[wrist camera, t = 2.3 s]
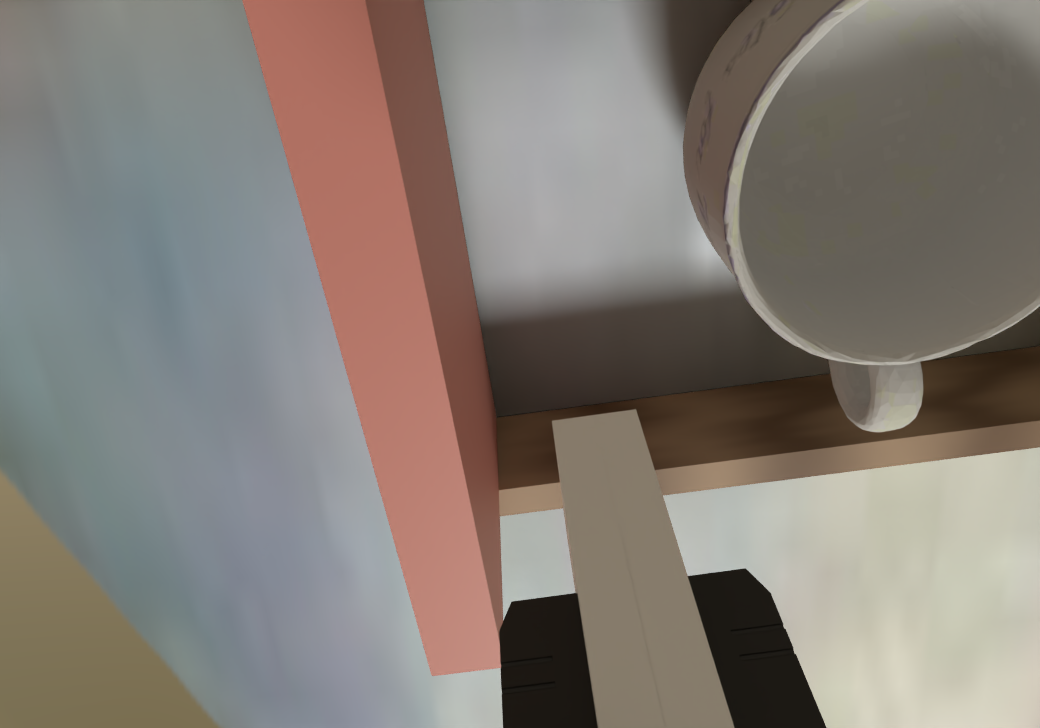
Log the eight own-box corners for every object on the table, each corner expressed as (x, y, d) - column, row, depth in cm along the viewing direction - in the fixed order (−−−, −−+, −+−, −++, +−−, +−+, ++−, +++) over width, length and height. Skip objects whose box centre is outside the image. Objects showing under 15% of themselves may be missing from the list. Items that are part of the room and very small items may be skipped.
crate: (1247, -268, 23) (1405, -295, 19) (1081, 365, 33) (1160, 431, 29) (329, -128, 23) (300, -127, 20) (452, 447, 34) (449, 522, 30)
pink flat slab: (409, -78, 24) (358, -34, 14) (496, 415, 33) (504, 667, 23) (340, -68, 24) (238, -16, 14) (446, 422, 33) (431, 676, 23)
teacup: (694, -90, 24) (780, -71, 17) (1046, -62, 25) (1259, -34, 18) (629, 328, 31) (671, 457, 25) (904, 339, 32) (1019, 467, 25)
